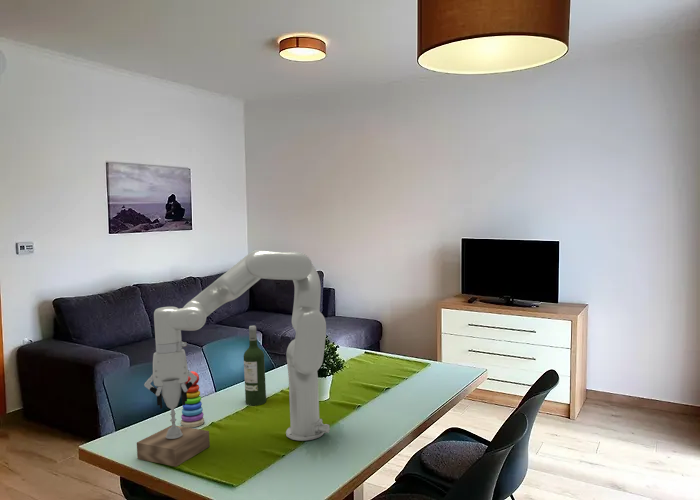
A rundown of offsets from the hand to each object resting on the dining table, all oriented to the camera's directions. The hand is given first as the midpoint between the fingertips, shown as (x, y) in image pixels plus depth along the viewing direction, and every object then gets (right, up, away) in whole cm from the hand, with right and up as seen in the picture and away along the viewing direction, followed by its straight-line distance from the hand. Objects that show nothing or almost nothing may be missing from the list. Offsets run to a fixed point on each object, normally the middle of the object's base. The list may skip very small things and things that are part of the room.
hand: (172, 405), depth 168 cm
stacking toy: (-1, -14, +24) cm, 28 cm away
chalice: (0, -10, +1) cm, 10 cm away
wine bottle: (+18, -12, +45) cm, 50 cm away
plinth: (0, -15, +1) cm, 15 cm away
